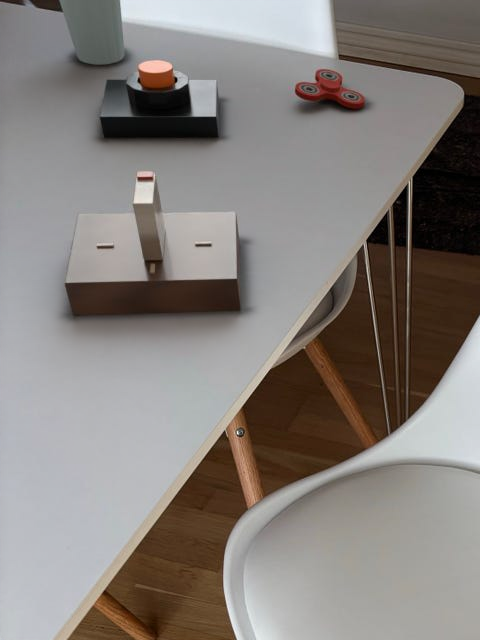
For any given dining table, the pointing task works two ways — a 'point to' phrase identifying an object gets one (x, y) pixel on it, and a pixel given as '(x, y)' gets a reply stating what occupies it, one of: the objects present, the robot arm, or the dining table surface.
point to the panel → (154, 265)
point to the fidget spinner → (329, 90)
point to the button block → (160, 109)
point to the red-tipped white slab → (149, 216)
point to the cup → (95, 29)
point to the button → (156, 74)
